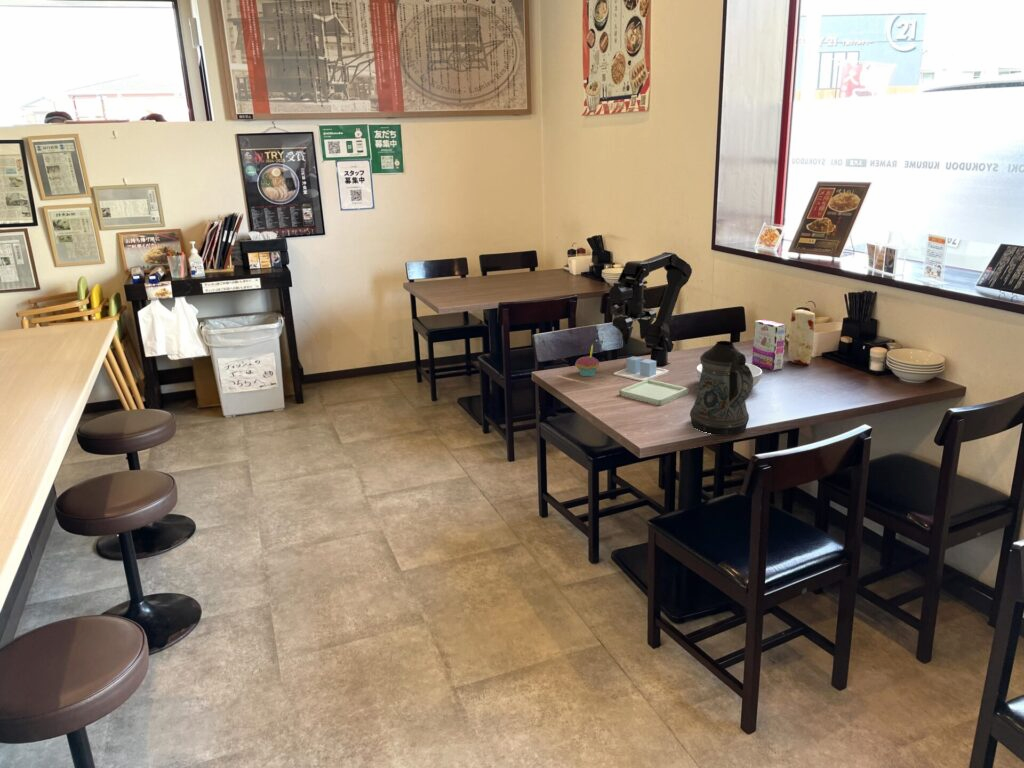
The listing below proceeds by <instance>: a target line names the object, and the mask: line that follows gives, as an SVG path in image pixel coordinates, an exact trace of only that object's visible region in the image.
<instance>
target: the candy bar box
mask: <svg viewBox="0 0 1024 768" xmlns="http://www.w3.org/2000/svg"><path fill="white" fill-rule="evenodd" d="M786 336H787V324H784V323H780V322H777V321H776V322H775V321H771V320H769V319H759V320H754V330H753V342H752V343H753V345H752V359H751V364H752V365H754V364H755V365H754V366H757V365H758V366H757V367H760V366H761V368H763V367H764V368H763V369H766V368H767V370H769V369H770V370H769V371H772V370H773V372H774V370H776V371H780V370H779V369H781V370H783V369H784V362H785V361H784V360H785V359H784V358H785V350H786V349H785V348H786V347H785V346H786V338H787V337H786Z"/></svg>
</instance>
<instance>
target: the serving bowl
mask: <svg viewBox="0 0 1024 768" xmlns="http://www.w3.org/2000/svg"><path fill="white" fill-rule="evenodd" d="M745 365H747V366H748V367H749V369H750V371H751V373H752V376H753V387H752V388H754V387H756V386H757V384H758V383H759V382H760V381H761V378H762V374H763V370H762V369H761V368H760V366H757V365H754V364H752V363H747V362H746V363H745ZM701 372H702V364H701V363H700V364H698V365H697V366H696V374H697V377H698V381H700V377H701Z"/></svg>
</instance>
